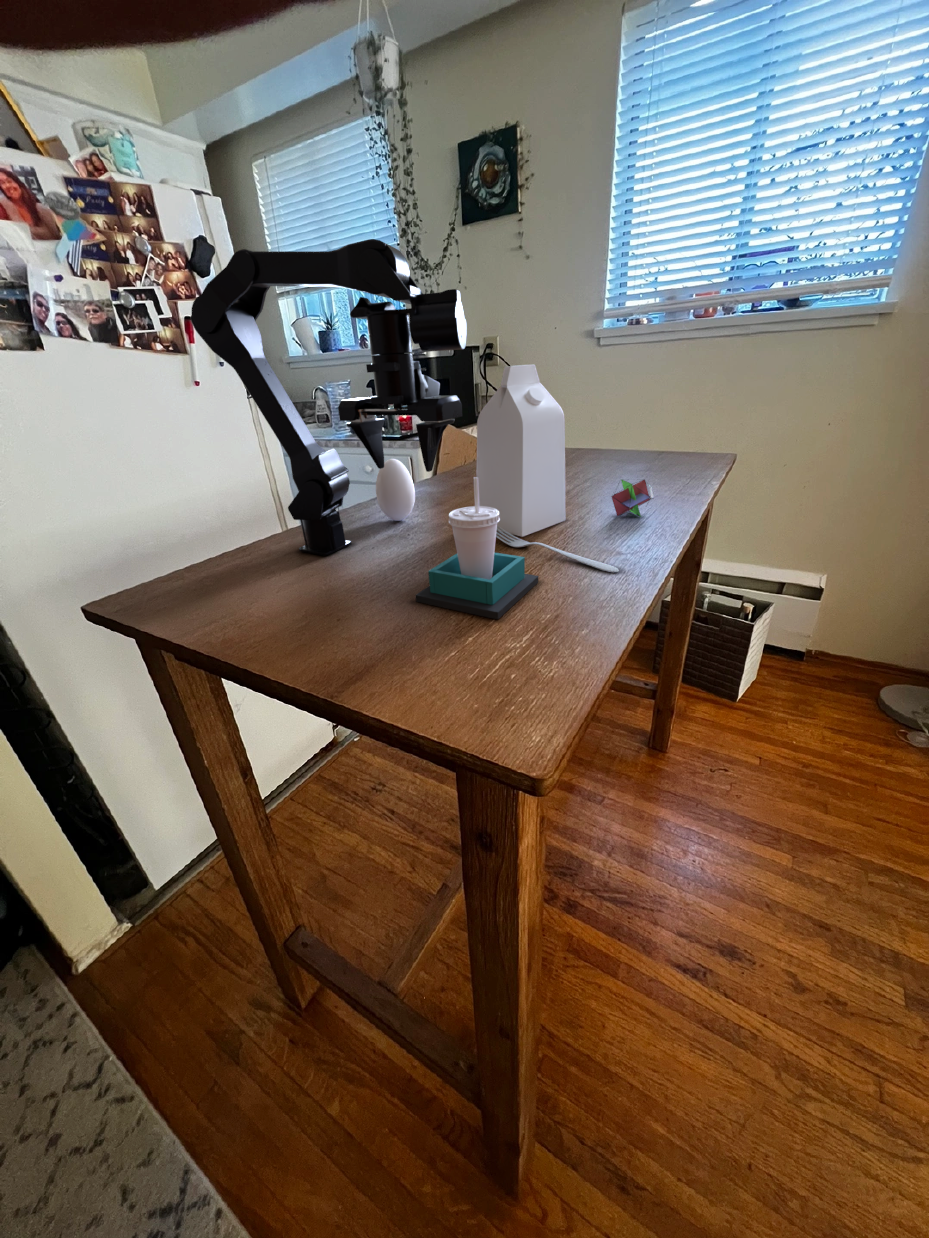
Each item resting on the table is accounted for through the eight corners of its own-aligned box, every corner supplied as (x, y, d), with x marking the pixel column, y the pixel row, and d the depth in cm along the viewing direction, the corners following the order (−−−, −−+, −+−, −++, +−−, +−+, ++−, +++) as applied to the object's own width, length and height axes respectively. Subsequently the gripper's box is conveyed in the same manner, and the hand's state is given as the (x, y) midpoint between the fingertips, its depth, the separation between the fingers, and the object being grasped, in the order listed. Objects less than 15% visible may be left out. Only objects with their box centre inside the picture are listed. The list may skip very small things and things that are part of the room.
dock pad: (415, 601, 65) (412, 573, 63) (463, 569, 74) (461, 543, 72) (498, 620, 59) (497, 589, 57) (538, 582, 68) (538, 554, 66)
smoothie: (482, 598, 62) (477, 485, 56) (443, 588, 66) (434, 480, 59) (511, 581, 67) (509, 474, 60) (472, 571, 70) (467, 470, 64)
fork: (611, 575, 69) (612, 563, 68) (486, 540, 85) (486, 530, 84) (624, 568, 71) (625, 556, 70) (499, 535, 87) (499, 525, 86)
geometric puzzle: (612, 511, 88) (641, 472, 86) (595, 502, 94) (622, 464, 92) (639, 531, 91) (668, 493, 89) (621, 521, 97) (648, 485, 95)
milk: (519, 510, 100) (518, 364, 88) (565, 520, 92) (571, 362, 80) (475, 524, 93) (468, 368, 81) (522, 536, 86) (521, 366, 73)
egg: (377, 527, 95) (368, 463, 90) (382, 516, 102) (374, 456, 96) (416, 524, 95) (409, 461, 90) (419, 514, 102) (412, 454, 96)
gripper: (479, 348, 71) (483, 462, 78) (377, 356, 80) (389, 457, 87) (435, 351, 63) (444, 477, 70) (327, 359, 72) (345, 470, 79)
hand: (404, 469), depth 77 cm, fingers open, 9 cm apart
